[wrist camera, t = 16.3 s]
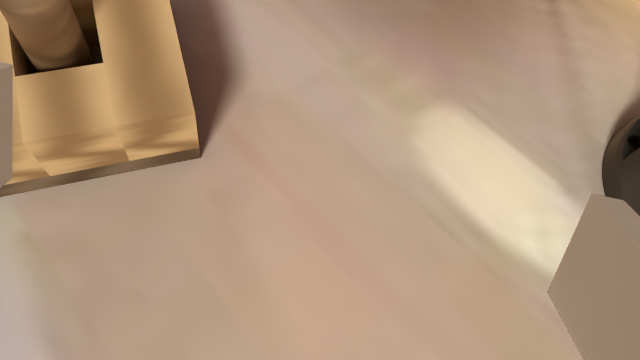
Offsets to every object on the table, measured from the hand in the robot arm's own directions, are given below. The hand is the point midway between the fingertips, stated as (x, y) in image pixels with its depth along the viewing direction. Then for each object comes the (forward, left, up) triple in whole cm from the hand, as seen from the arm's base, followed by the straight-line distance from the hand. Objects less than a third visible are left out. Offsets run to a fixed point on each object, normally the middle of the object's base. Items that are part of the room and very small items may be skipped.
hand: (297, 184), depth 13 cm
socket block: (+9, -22, -32) cm, 39 cm away
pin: (+9, -22, -30) cm, 38 cm away
